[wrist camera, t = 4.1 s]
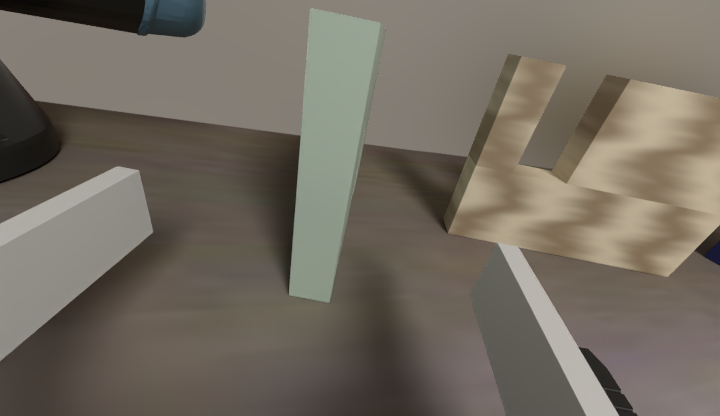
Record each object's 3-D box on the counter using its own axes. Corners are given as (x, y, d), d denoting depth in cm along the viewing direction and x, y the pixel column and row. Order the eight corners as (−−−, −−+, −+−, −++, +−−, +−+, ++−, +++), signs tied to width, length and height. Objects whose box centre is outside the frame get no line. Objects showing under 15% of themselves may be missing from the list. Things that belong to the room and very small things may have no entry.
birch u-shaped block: (447, 233, 26) (521, 56, 18) (443, 218, 28) (508, 53, 20) (667, 277, 26) (824, 120, 19) (647, 259, 28) (781, 111, 21)
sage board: (329, 302, 17) (380, 23, 10) (288, 295, 17) (310, 7, 10) (360, 161, 36) (385, 29, 29) (341, 157, 36) (361, 24, 29)
